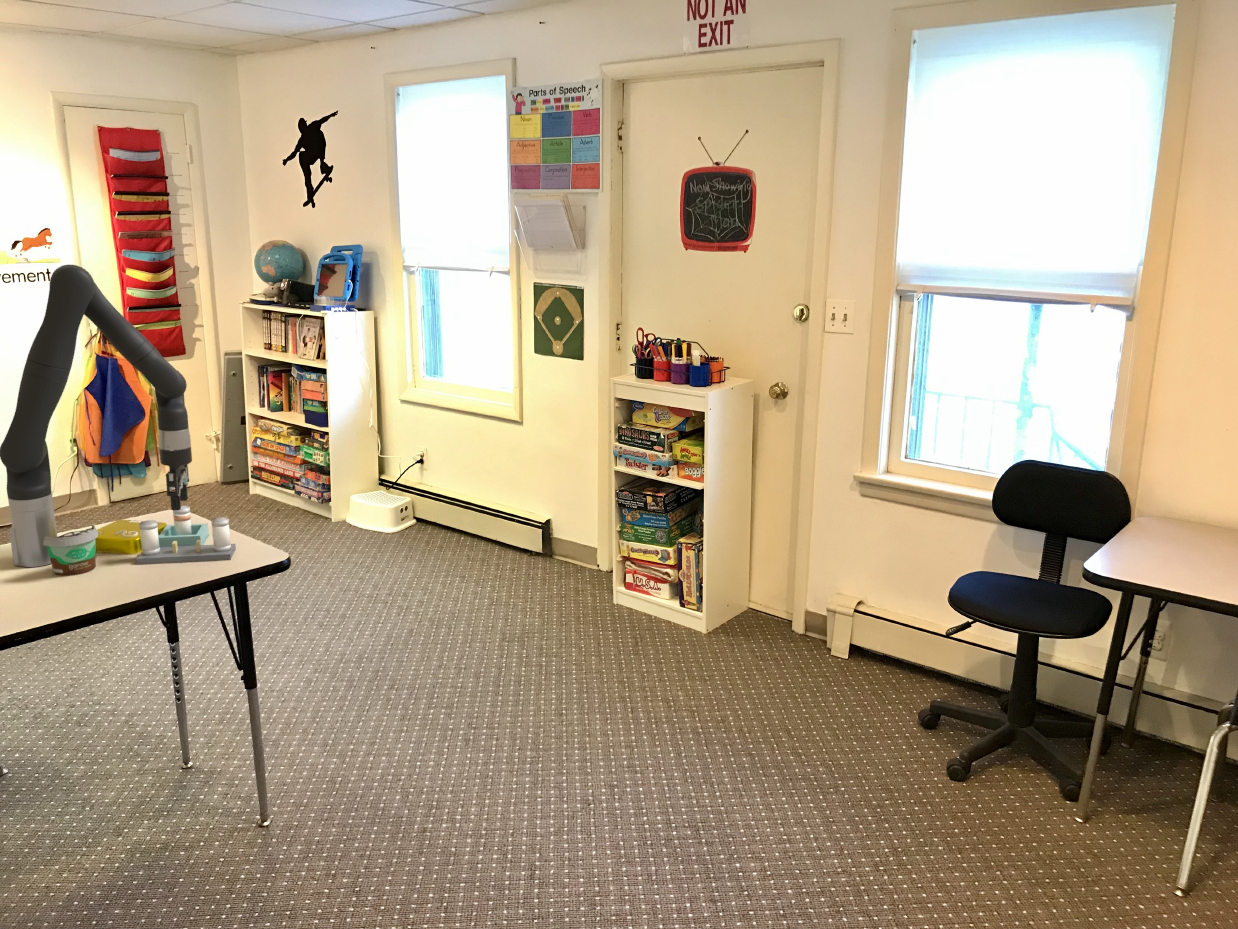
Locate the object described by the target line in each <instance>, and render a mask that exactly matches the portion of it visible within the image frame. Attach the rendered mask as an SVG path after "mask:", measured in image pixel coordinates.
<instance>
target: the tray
mask: <svg viewBox="0 0 1238 929" xmlns="http://www.w3.org/2000/svg"><path fill="white" fill-rule="evenodd" d="M191 531H192V535H176V536H175V527H174V524H168V525H166V527H165V528H164V529H163V531H162V532H161V533H160V535H159V536H158V538H159V547H172V543H173V541H177V546H196V541H197V540H201V545H205V543H206V541H207V540H208V538H209V536H210V533H209V523H191Z"/></svg>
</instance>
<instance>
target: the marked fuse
mask: <svg viewBox="0 0 1238 929" xmlns="http://www.w3.org/2000/svg"><path fill="white" fill-rule="evenodd" d="M172 517H173V525H174V527H175V536H176V535H192V531H191V524H192V519H191V517H192V516H191V507H190V506H188V505H181V509H180V510H172Z"/></svg>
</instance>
